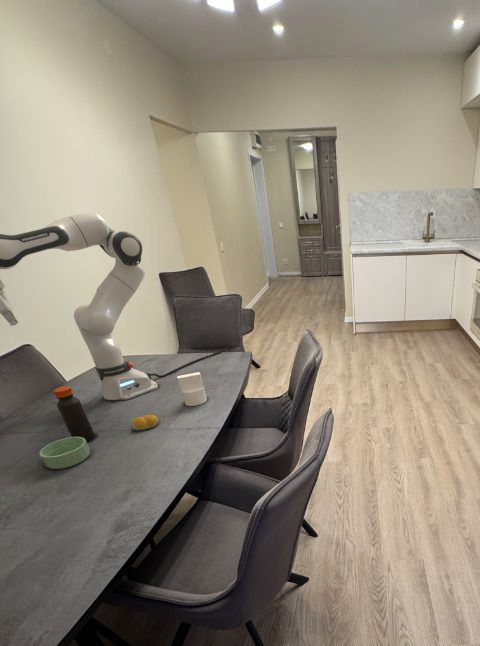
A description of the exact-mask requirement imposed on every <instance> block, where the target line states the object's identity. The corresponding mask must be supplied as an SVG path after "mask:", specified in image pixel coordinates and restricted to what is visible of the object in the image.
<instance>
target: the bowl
mask: <svg viewBox="0 0 480 646" xmlns="http://www.w3.org/2000/svg"><path fill="white" fill-rule="evenodd" d="M89 455H91V449H90V447H89V444H88V442H86V440H85V438H82V437H71V436H68V437H65V438H61V439H58V440H54V441H53V442H50V443H48V444H47V445H45V446H43V448H41V449H40V450H39V456H40V458H41V460H42V462H43V464H44V465H45V467H46V468H48V469H52V470H62V469H67V468H70V467H73V466H76V465H78V464H80V463H82V462H83V461H85V460H87V458H88V457H89Z"/></svg>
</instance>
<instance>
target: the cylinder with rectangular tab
mask: <svg viewBox="0 0 480 646" xmlns="http://www.w3.org/2000/svg"><path fill="white" fill-rule="evenodd" d="M201 375H202V374H201V372H200V371H199V372H197V371H196V372H193V373H187V374H181V375H177V376H176V377H177V381H178V385H179V388H180V392H181V395H182V399H183V402H184V405H185V406H187V407H196V406H200V405H203V404H205V403H206V402H207V400H208V398H207V394H206V391H205V387H204V383H203V379H202V376H201Z"/></svg>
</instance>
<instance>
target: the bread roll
mask: <svg viewBox="0 0 480 646" xmlns="http://www.w3.org/2000/svg"><path fill="white" fill-rule="evenodd" d="M131 423H132V424H131V425H132V428H133V430H135V431H145V430H148V429H153V428H154V427H156V426H157V425H158V424H159V419H158V417H157V416H156V415H154V414H147V415H144V416H137V417H135V418H133V419H132V422H131Z"/></svg>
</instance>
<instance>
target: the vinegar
mask: <svg viewBox="0 0 480 646" xmlns="http://www.w3.org/2000/svg"><path fill="white" fill-rule="evenodd" d="M53 393H54V395H55V398H56V399H57V400H58V401H57V403H56V407H57V409H58V411H59V414H60V417H61V418H62V420H63V422H64V424H65V426H66V428H67V430H68V432H69V435H70V437H82V438H85V440H86V442H87V443H89V442H90V441H93V440H94V439H95V437H96V433H95V432H94V430H93V427H92V425H91V423H90V420H89V418H88V416H87V413H86V411H85V409H84V407H83V404H82V403H81V400H80V399H79V398H78V397H76V396H74V392H73V390H72V388H71V386H67V385H65V386H59V387H57V388H54V389H53Z"/></svg>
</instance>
